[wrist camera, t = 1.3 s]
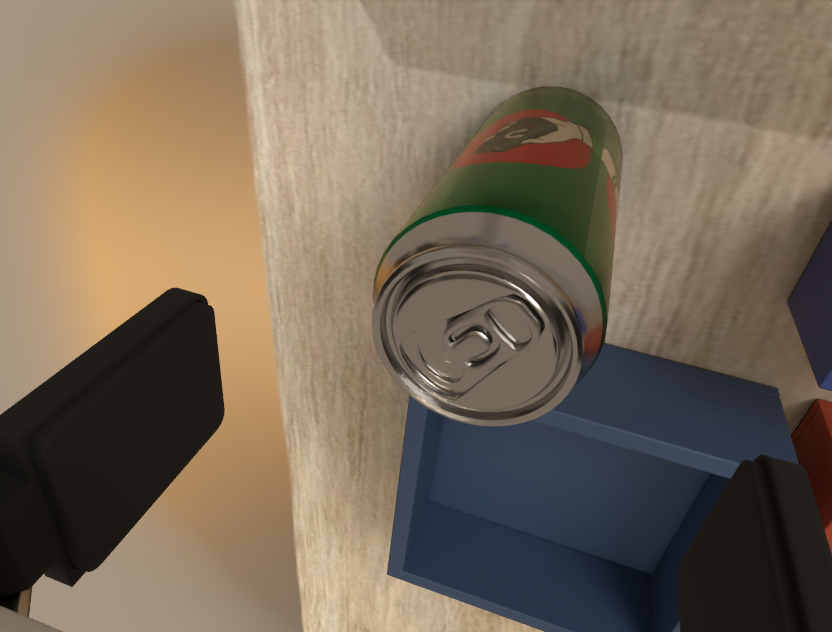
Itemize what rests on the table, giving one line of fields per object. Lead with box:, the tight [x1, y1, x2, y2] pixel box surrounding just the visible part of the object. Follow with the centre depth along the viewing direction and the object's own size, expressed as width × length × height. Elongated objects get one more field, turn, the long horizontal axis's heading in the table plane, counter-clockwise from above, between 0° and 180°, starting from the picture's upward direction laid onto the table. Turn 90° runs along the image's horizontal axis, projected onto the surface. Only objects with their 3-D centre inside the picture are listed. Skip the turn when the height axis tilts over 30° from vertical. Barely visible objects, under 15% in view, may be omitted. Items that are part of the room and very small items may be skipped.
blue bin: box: [387, 343, 799, 632], centre depth 27 cm, size 14×14×5 cm
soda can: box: [372, 87, 622, 426], centre depth 17 cm, size 5×5×12 cm
